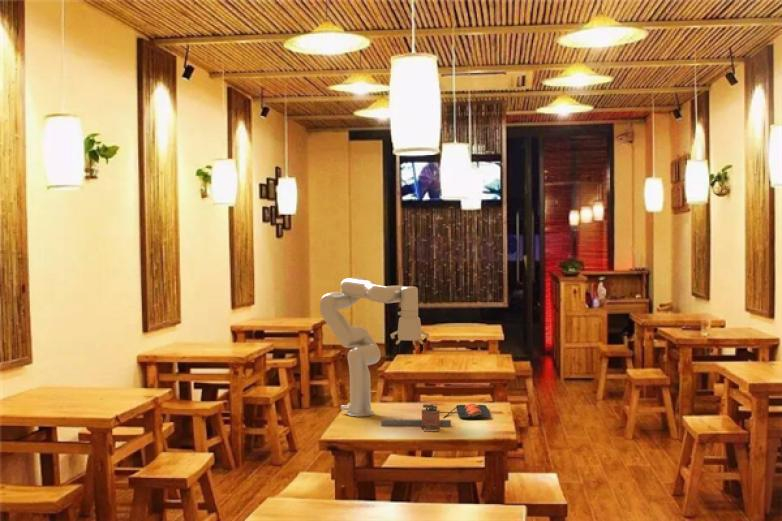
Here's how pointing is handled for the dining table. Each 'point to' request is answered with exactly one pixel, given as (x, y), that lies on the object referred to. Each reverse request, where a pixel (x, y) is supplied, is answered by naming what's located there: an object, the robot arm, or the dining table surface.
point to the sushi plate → (471, 411)
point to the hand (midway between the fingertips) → (409, 353)
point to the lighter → (430, 417)
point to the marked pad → (431, 430)
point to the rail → (409, 422)
